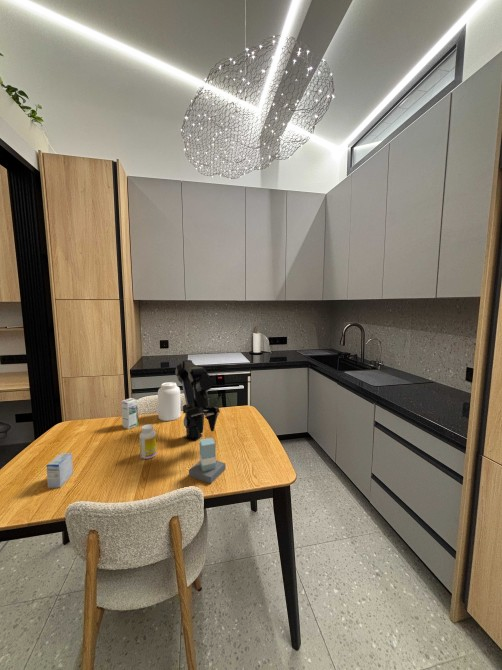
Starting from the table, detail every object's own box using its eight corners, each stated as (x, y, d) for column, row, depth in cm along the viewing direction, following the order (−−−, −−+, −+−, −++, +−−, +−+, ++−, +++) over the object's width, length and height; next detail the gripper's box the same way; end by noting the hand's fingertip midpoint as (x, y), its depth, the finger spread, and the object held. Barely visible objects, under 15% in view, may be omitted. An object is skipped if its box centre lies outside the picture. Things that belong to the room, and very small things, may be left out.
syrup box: (128, 429, 142) (127, 402, 140) (122, 426, 145) (121, 400, 143) (138, 425, 147) (137, 399, 145) (131, 423, 150) (130, 397, 148)
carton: (199, 464, 106) (199, 439, 105) (212, 461, 108) (212, 437, 107) (202, 471, 101) (202, 445, 100) (215, 468, 103) (215, 443, 102)
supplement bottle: (159, 452, 119) (159, 424, 118) (149, 460, 113) (148, 431, 112) (147, 450, 121) (146, 422, 120) (136, 457, 115) (135, 428, 114)
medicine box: (61, 474, 103) (59, 452, 102) (73, 474, 103) (72, 452, 103) (47, 488, 95) (45, 464, 94) (60, 487, 96) (59, 464, 95)
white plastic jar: (154, 420, 153) (153, 385, 151) (164, 412, 166) (163, 380, 164) (175, 422, 151) (174, 387, 149) (184, 413, 164) (183, 381, 162)
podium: (188, 476, 103) (188, 469, 102) (204, 462, 112) (204, 457, 111) (211, 483, 98) (211, 477, 98) (225, 469, 107) (225, 463, 107)
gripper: (196, 400, 131) (202, 434, 125) (172, 399, 114) (178, 438, 109) (217, 394, 128) (223, 428, 122) (195, 392, 111) (202, 432, 106)
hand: (207, 432), depth 115 cm, fingers open, 9 cm apart
